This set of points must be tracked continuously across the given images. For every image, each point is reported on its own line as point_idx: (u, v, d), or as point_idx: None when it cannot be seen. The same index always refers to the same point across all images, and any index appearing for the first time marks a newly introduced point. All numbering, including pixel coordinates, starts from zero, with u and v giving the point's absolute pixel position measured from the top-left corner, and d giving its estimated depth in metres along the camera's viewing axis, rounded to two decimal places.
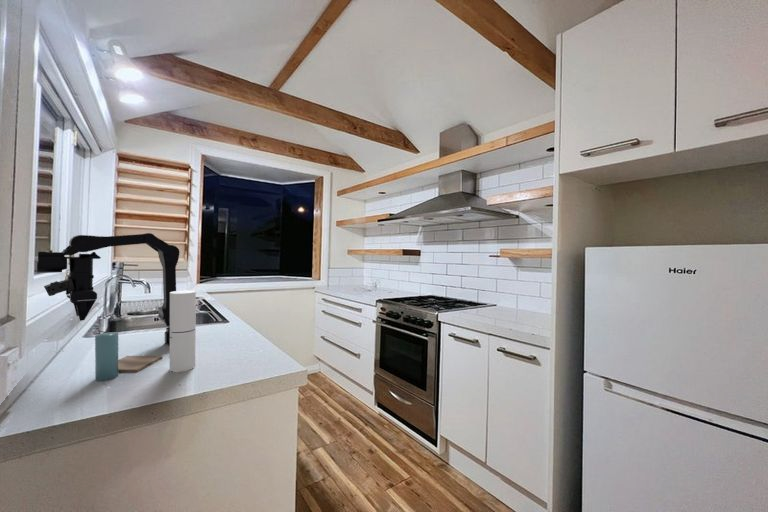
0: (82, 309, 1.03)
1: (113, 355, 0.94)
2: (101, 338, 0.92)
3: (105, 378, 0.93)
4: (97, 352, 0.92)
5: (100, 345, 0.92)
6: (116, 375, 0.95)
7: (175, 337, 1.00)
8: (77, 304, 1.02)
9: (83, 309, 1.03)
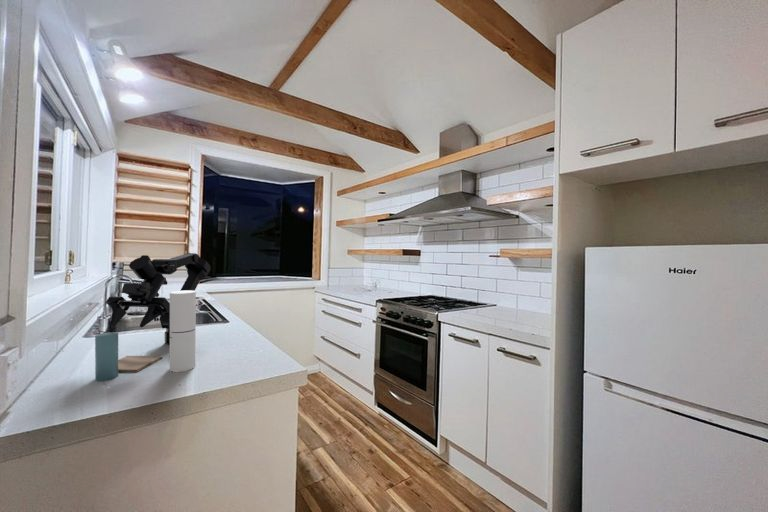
0: (149, 316, 1.05)
1: (113, 355, 0.94)
2: (101, 338, 0.92)
3: (105, 378, 0.93)
4: (97, 352, 0.92)
5: (100, 345, 0.92)
6: (116, 375, 0.95)
7: (175, 337, 1.00)
8: (153, 309, 1.06)
9: (150, 317, 1.05)
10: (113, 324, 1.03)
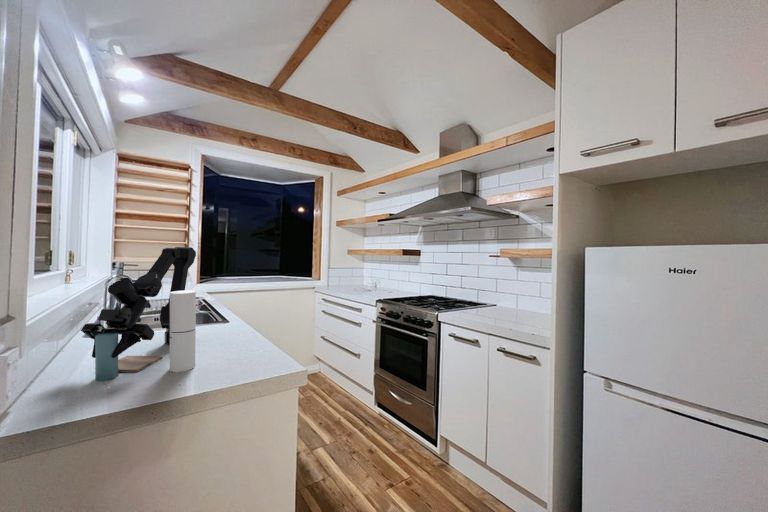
0: (123, 345, 0.96)
1: None
2: (101, 338, 0.92)
3: (105, 378, 0.93)
4: (97, 352, 0.92)
5: (100, 345, 0.92)
6: (116, 375, 0.95)
7: (175, 337, 1.00)
8: (127, 337, 0.97)
9: (124, 346, 0.96)
10: None
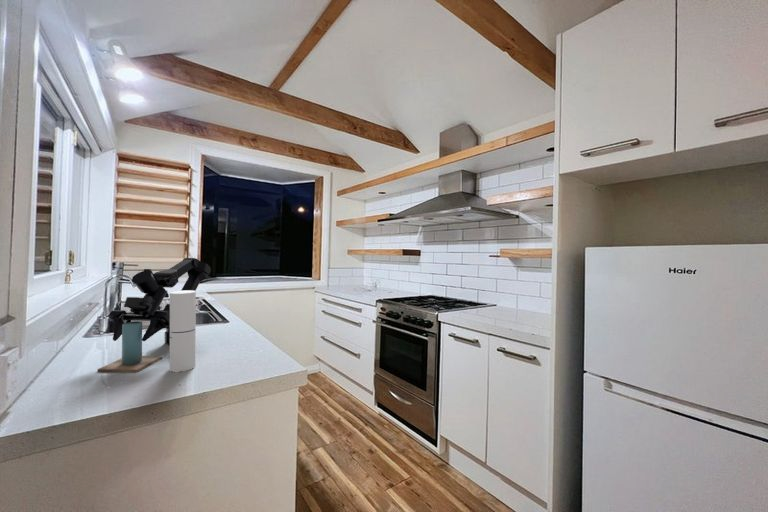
0: (152, 330, 1.06)
1: (137, 342, 1.04)
2: (128, 326, 1.02)
3: (131, 362, 1.03)
4: (124, 339, 1.02)
5: (126, 332, 1.02)
6: (140, 360, 1.05)
7: (175, 337, 1.00)
8: (155, 323, 1.06)
9: (152, 330, 1.06)
10: (115, 338, 1.03)
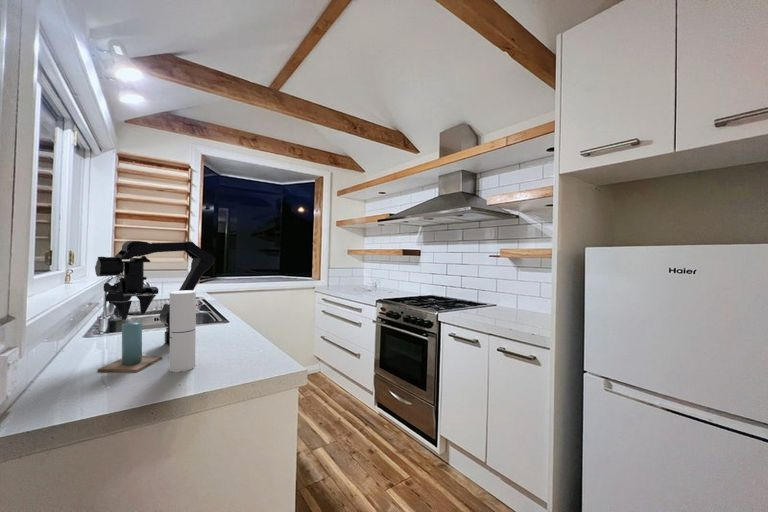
0: (121, 309, 1.11)
1: (137, 342, 1.04)
2: (127, 326, 1.02)
3: (130, 363, 1.03)
4: (124, 339, 1.02)
5: (126, 332, 1.02)
6: (140, 360, 1.05)
7: (175, 337, 1.00)
8: (115, 304, 1.10)
9: (122, 309, 1.11)
10: (142, 312, 1.21)
